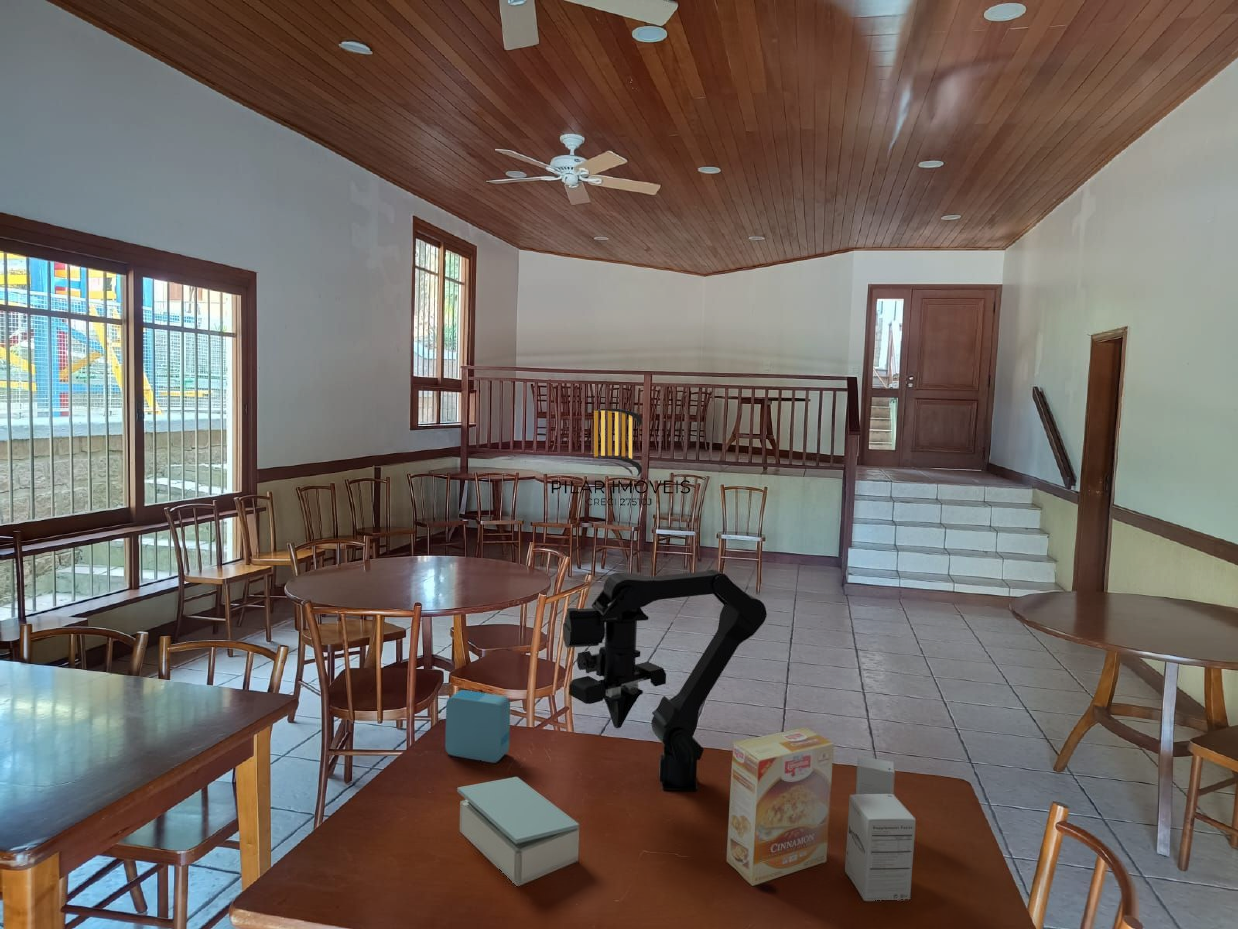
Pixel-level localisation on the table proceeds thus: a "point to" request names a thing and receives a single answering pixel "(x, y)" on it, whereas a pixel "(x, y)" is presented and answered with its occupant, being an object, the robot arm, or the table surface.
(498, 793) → the box lid
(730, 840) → the coffeecake box
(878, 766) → the skincare box
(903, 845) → the supplement box
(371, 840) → the table surface
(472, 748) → the blue rounded square block
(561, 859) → the cream box
